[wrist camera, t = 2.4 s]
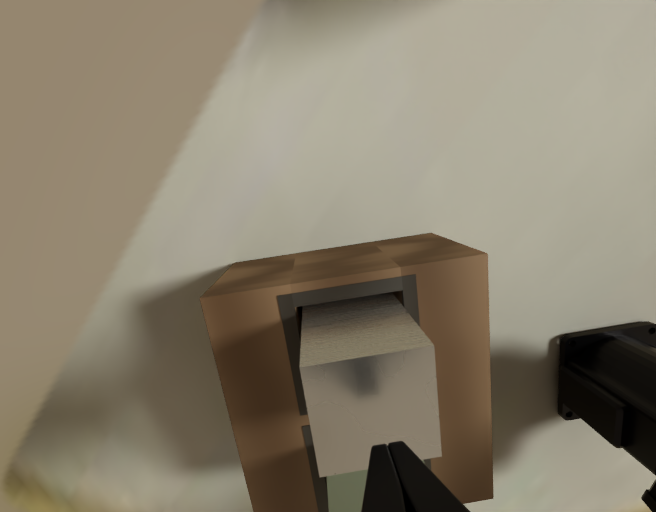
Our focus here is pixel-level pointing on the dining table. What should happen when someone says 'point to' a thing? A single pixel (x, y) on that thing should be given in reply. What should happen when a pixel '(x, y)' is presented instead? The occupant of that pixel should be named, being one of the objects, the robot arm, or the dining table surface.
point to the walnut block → (285, 342)
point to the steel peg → (367, 381)
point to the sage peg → (346, 491)
